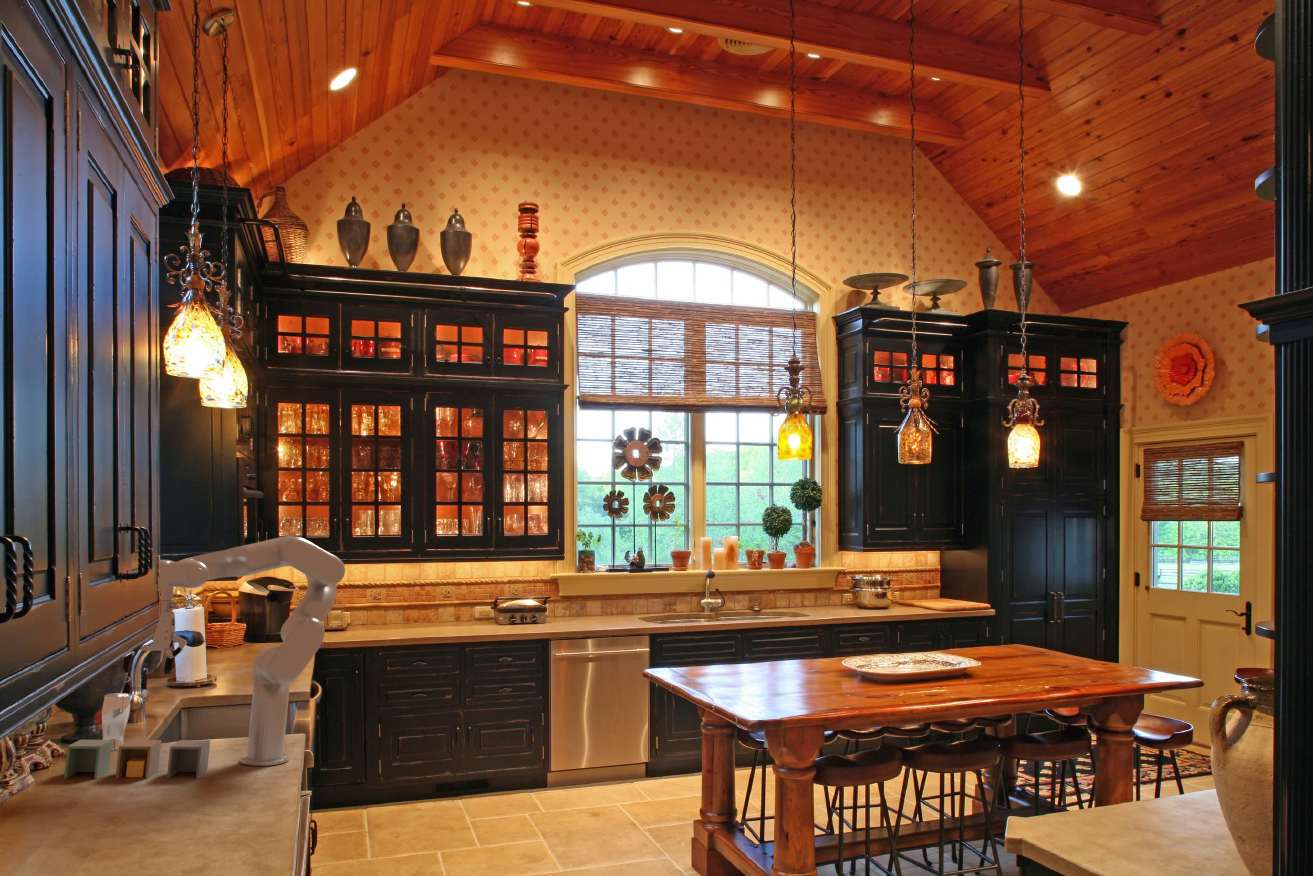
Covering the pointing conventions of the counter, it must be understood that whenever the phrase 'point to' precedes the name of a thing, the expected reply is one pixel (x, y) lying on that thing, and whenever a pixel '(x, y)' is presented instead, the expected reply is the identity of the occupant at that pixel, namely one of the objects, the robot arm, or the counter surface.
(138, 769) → the orange block
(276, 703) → the robot arm
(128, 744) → the tan cardboard-coloured box
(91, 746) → the green open box
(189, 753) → the grey open box
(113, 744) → the beer glass
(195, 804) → the counter surface
